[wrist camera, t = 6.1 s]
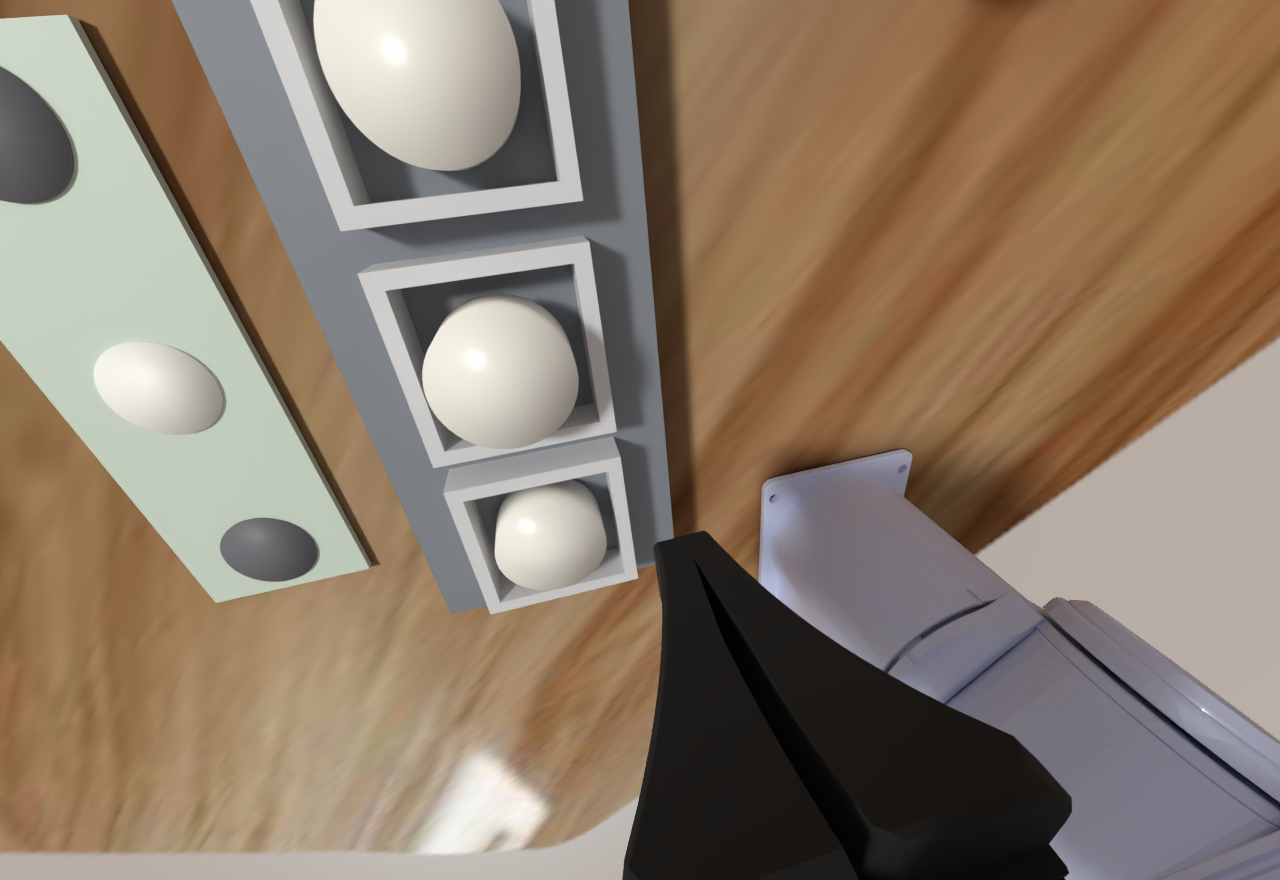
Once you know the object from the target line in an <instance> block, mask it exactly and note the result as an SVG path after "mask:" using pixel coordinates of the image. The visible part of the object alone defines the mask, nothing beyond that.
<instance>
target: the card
mask: <svg viewBox="0 0 1280 880" xmlns="http://www.w3.org/2000/svg"><path fill="white" fill-rule="evenodd" d="M0 340H1V342H2V343H3V344H4V345H5V346H6V348H7V349H8V350H9V351H10V352H11V354H12V355H13V356H14V357H15V359H16V360H17V361H18V362H19V363H20V365H21V366H22V367H23V368H24V370H25V371H26V372H27V373H28V374H29V376H30V377H31V378H32V379H33V381H34V382H35V383H36V384H37V385H38V387H39V388H40V389H41V390H42V391H43V393H44V394H45V395H46V396H47V398H48V399H49V400H50V401H51V402H52V404H53V405H54V406H55V407H56V409H57V410H58V411H59V412H60V413H61V415H62V416H63V417H64V418H65V420H66V421H67V422H68V423H69V424H70V426H71V427H72V428H73V429H74V430H75V432H76V433H77V434H78V435H79V437H80V438H81V439H82V440H83V441H84V443H85V444H86V445H87V446H88V448H89V449H90V450H91V451H92V452H93V454H94V455H95V456H96V457H97V459H98V460H99V461H100V462H101V463H102V465H103V466H104V467H105V468H106V469H107V471H108V472H109V473H110V474H111V476H112V477H113V478H114V479H115V480H116V482H117V483H118V484H119V485H120V487H121V488H122V489H123V490H124V491H125V493H126V494H127V495H128V496H129V498H130V499H131V500H132V501H133V502H134V504H135V505H136V506H137V507H138V508H139V510H140V511H141V512H142V513H143V515H144V516H145V517H146V518H147V519H148V521H149V522H150V523H151V524H152V526H153V527H154V528H155V529H156V530H157V532H158V533H159V534H160V535H161V537H162V538H163V539H164V540H165V541H166V543H167V544H168V545H169V546H170V547H171V549H172V550H173V551H174V552H175V554H176V555H177V556H178V557H179V558H180V560H181V561H182V562H183V563H184V565H185V566H186V567H187V568H188V569H189V571H190V572H191V573H192V574H193V575H194V577H195V578H196V579H197V580H198V582H199V583H200V584H201V585H202V586H203V588H204V589H205V590H206V591H207V593H208V594H209V595H210V596H211V597H212V599H213V600H214V601H215V602H216V603H218V602H222V601H226V600H231V599H235V598H240V597H244V596H249V595H253V594H258V593H262V592H267V591H271V590H276V589H280V588H285V587H289V586H294V585H298V584H303V583H307V582H312V581H316V580H321V579H325V578H330V577H334V576H338V575H343V574H347V573H352V572H356V571H361V570H365V569H370V567H371V564H372V563H371V561H370V560H369V558H368V556H367V554H366V552H365V550H364V548H363V547H362V545H361V543H360V541H359V539H358V537H357V535H356V534H355V532H354V530H353V528H352V526H351V524H350V522H349V521H348V519H347V517H346V515H345V513H344V511H343V510H342V508H341V506H340V504H339V502H338V500H337V498H336V497H335V495H334V493H333V491H332V489H331V487H330V485H329V484H328V482H327V480H326V478H325V476H324V474H323V472H322V471H321V469H320V467H319V465H318V463H317V461H316V459H315V458H314V456H313V454H312V452H311V450H310V448H309V447H308V445H307V443H306V441H305V439H304V437H303V435H302V434H301V432H300V430H299V428H298V426H297V424H296V422H295V421H294V419H293V417H292V415H291V413H290V411H289V409H288V408H287V406H286V404H285V402H284V400H283V398H282V396H281V395H280V393H279V391H278V389H277V387H276V385H275V384H274V382H273V380H272V378H271V376H270V374H269V372H268V371H267V369H266V367H265V365H264V363H263V361H262V359H261V358H260V356H259V354H258V352H257V350H256V348H255V346H254V345H253V343H252V341H251V339H250V337H249V335H248V333H247V332H246V330H245V328H244V326H243V324H242V322H241V321H240V319H239V317H238V315H237V313H236V311H235V309H234V308H233V306H232V304H231V302H230V300H229V298H228V296H227V295H226V293H225V291H224V289H223V287H222V285H221V283H220V282H219V280H218V278H217V276H216V274H215V272H214V271H213V269H212V267H211V265H210V263H209V261H208V259H207V258H206V256H205V254H204V252H203V250H202V248H201V246H200V245H199V243H198V241H197V239H196V237H195V235H194V233H193V232H192V230H191V228H190V226H189V224H188V222H187V220H186V219H185V217H184V215H183V213H182V211H181V209H180V208H179V206H178V204H177V202H176V200H175V198H174V196H173V195H172V193H171V191H170V189H169V187H168V185H167V183H166V182H165V180H164V178H163V176H162V174H161V172H160V170H159V169H158V167H157V165H156V163H155V161H154V159H153V157H152V156H151V154H150V152H149V150H148V148H147V146H146V145H145V143H144V141H143V139H142V137H141V135H140V133H139V132H138V130H137V128H136V126H135V124H134V122H133V120H132V119H131V117H130V115H129V113H128V111H127V109H126V107H125V106H124V104H123V102H122V100H121V98H120V96H119V94H118V93H117V91H116V89H115V87H114V85H113V83H112V82H111V80H110V78H109V76H108V74H107V72H106V70H105V69H104V67H103V65H102V63H101V61H100V59H99V57H98V56H97V54H96V52H95V50H94V48H93V46H92V44H91V43H90V41H89V39H88V37H87V35H86V33H85V31H84V30H83V28H82V26H81V24H80V22H79V20H78V19H77V18H75V17H72V16H69V15H56V16H40V17H23V18H7V19H0Z"/></svg>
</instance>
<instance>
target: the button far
mask: <svg viewBox="0 0 1280 880" xmlns="http://www.w3.org/2000/svg"><path fill="white" fill-rule="evenodd" d="M606 547H607V539H606V534H605V530H604V526H603V521H602V517H601V513H600V509H599V505H598V502H597V500H596V498H595V496H594V495H593V493H592V492H591V491H590V490H589V489H588V488H586V487H585V486H584V485H582V484H581V483H579V482H577V481H574V480H572V479H570V480H565V481H561V482H556V483H551V484H546V485H542V486H537V487H532V488H527V489H523V490H518V491H513V492H510V493H509V494H508V495H507V496H506V497H505V498H504V500H503V501H502V503H501V505H500V507H499V510H498V513H497V523H496V538H495V559H496V563H497V565H498V567H499V569H500V570H501V572H502V573H503V574H504V575H505V576H506V577H507V578H508V579H509V580H511V581H512V582H514V583H516V584H518V585H520V586H522V587H526V588H529V589H534V590H556V589H561V588H565V587H568V586H571V585H573V584H576V583H578V582H580V581H582V580H583V579H585V578H586V577H588V576H589V575H590V574H591V573H593V572H594V571H595V569H596V568H597V567H598V566H599V565H600V563H601V561H602V560H603V558H604V555H605V552H606Z"/></svg>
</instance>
